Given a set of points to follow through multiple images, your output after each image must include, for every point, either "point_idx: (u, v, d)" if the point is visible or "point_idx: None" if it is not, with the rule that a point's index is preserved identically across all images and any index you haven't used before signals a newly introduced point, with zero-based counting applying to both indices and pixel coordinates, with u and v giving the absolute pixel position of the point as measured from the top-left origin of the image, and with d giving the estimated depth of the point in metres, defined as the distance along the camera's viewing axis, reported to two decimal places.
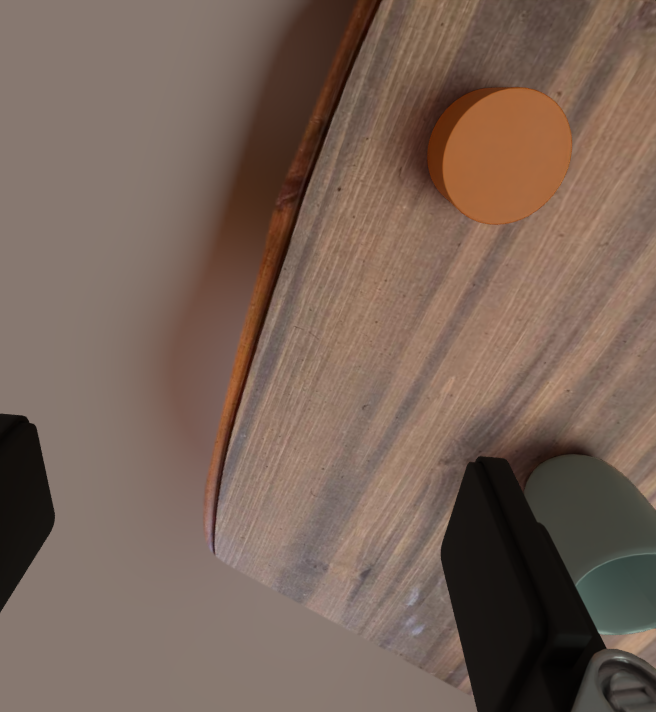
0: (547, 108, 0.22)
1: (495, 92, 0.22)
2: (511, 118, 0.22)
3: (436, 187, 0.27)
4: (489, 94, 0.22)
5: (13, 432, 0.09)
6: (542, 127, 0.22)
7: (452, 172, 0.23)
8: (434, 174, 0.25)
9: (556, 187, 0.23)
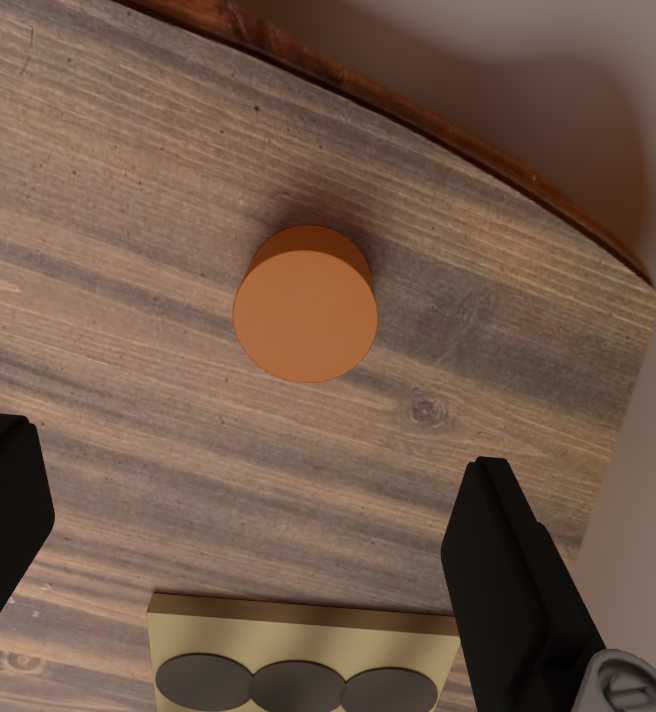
0: (357, 352, 0.21)
1: (374, 299, 0.20)
2: (348, 319, 0.20)
3: (267, 240, 0.22)
4: (372, 293, 0.20)
5: (13, 432, 0.09)
6: (339, 351, 0.21)
7: (290, 263, 0.19)
8: (283, 238, 0.21)
9: (279, 375, 0.21)
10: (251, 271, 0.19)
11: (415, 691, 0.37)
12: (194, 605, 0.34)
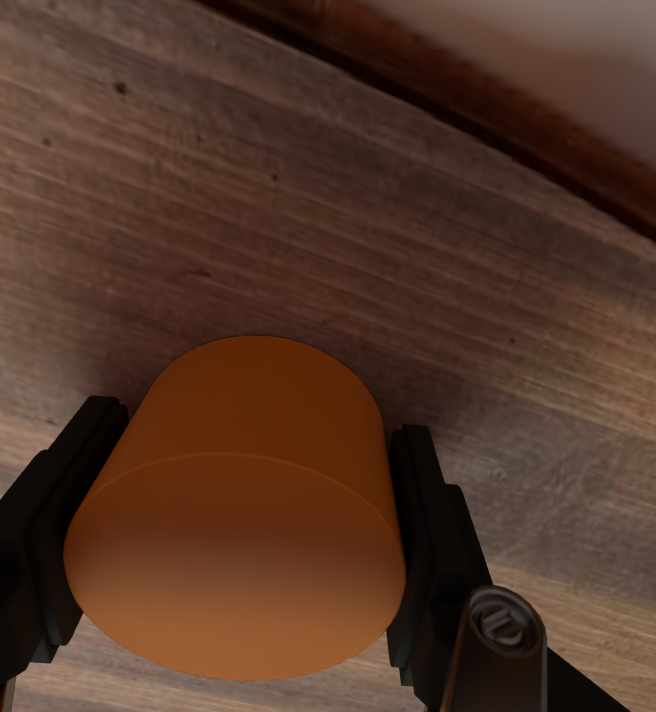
0: (357, 635, 0.09)
1: (398, 547, 0.08)
2: (336, 583, 0.09)
3: (171, 366, 0.11)
4: (395, 536, 0.08)
5: (111, 412, 0.10)
6: (316, 634, 0.09)
7: (188, 480, 0.07)
8: (193, 381, 0.09)
9: (187, 671, 0.10)
10: (93, 495, 0.08)
11: None
12: None
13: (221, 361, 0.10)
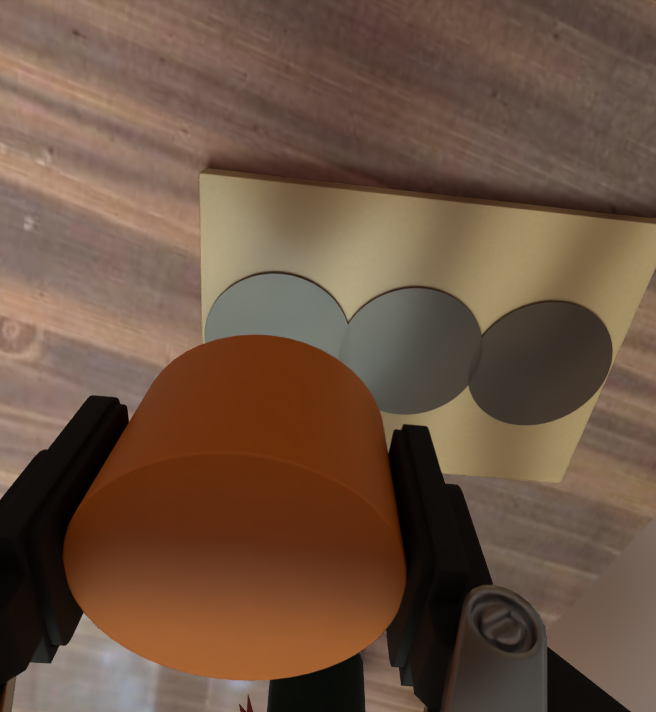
0: (357, 635, 0.09)
1: (399, 546, 0.08)
2: (336, 582, 0.09)
3: (170, 365, 0.11)
4: (395, 535, 0.08)
5: (111, 412, 0.10)
6: (317, 634, 0.09)
7: (188, 479, 0.07)
8: (193, 380, 0.09)
9: (187, 670, 0.10)
10: (93, 494, 0.08)
11: (581, 352, 0.26)
12: (270, 177, 0.23)
13: (221, 360, 0.10)
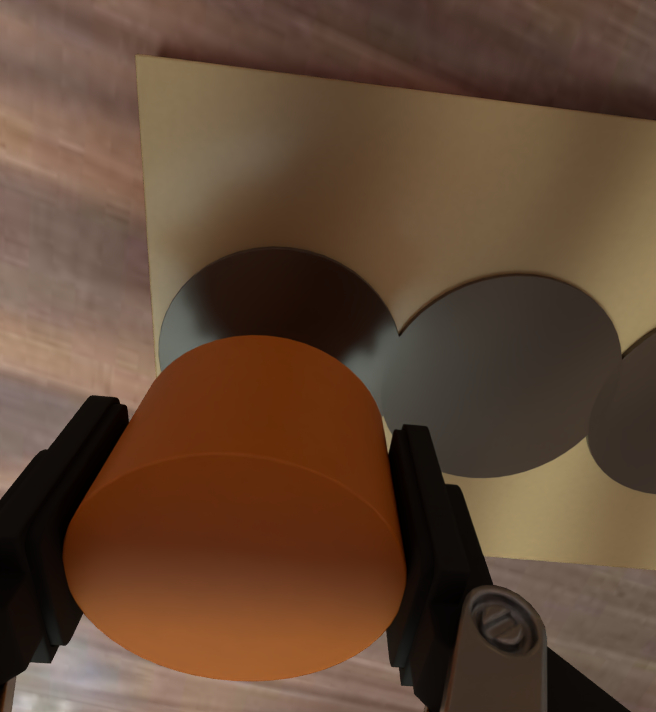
0: (357, 635, 0.09)
1: (399, 547, 0.08)
2: (336, 583, 0.09)
3: (170, 366, 0.11)
4: (395, 535, 0.08)
5: (111, 412, 0.10)
6: (316, 634, 0.09)
7: (188, 480, 0.07)
8: (193, 380, 0.09)
9: (187, 671, 0.10)
10: (93, 495, 0.08)
11: None
12: None
13: (221, 361, 0.10)
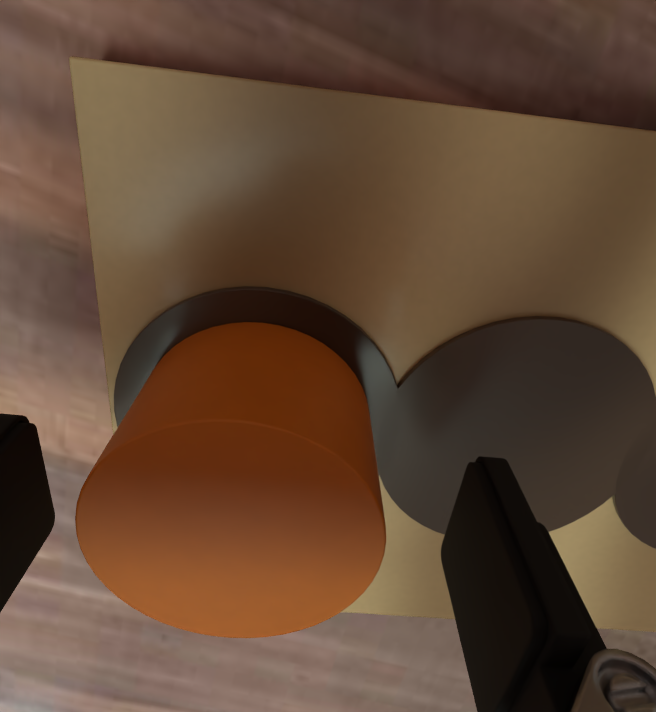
0: (342, 592, 0.10)
1: (378, 507, 0.09)
2: (322, 541, 0.10)
3: (171, 351, 0.12)
4: (374, 496, 0.09)
5: (13, 432, 0.09)
6: (305, 591, 0.10)
7: (189, 445, 0.08)
8: (192, 361, 0.10)
9: (188, 628, 0.11)
10: (104, 459, 0.09)
11: None
12: None
13: (218, 344, 0.11)
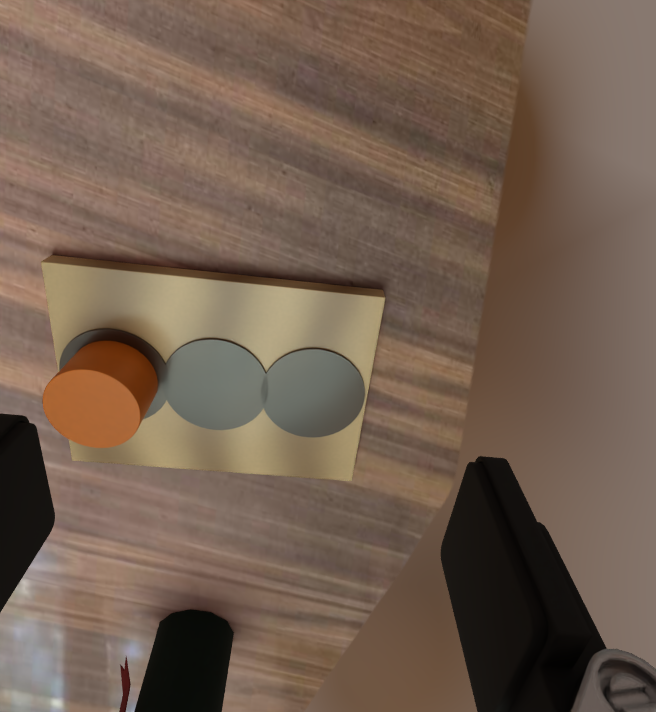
0: (130, 428, 0.32)
1: (134, 397, 0.31)
2: (119, 409, 0.31)
3: None
4: (132, 393, 0.31)
5: (13, 432, 0.09)
6: (118, 428, 0.32)
7: (74, 377, 0.30)
8: (81, 354, 0.32)
9: (81, 443, 0.32)
10: (50, 381, 0.30)
11: (340, 384, 0.35)
12: (96, 263, 0.32)
13: (91, 348, 0.32)
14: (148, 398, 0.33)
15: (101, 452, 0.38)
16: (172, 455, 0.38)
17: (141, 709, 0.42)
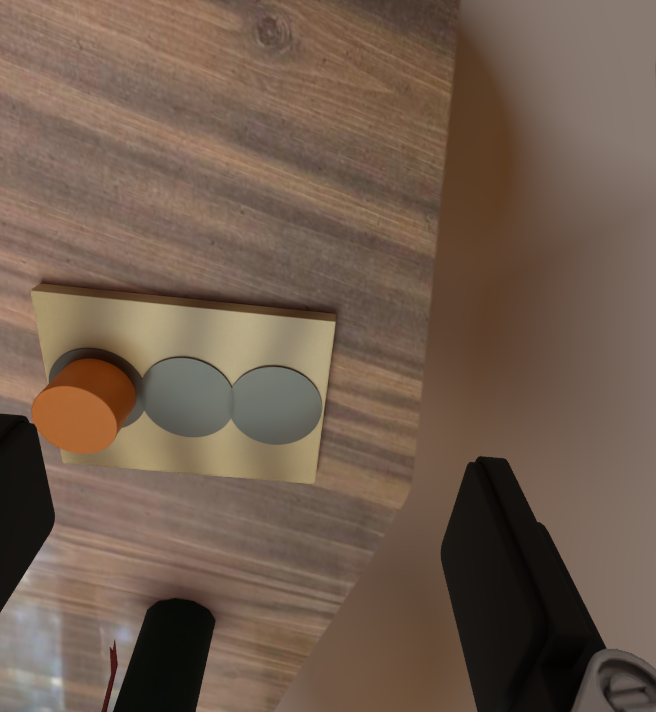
0: (109, 437, 0.36)
1: (110, 410, 0.35)
2: (98, 420, 0.35)
3: None
4: (109, 407, 0.35)
5: (13, 432, 0.09)
6: (98, 436, 0.36)
7: (58, 392, 0.34)
8: (66, 371, 0.36)
9: (66, 449, 0.36)
10: (37, 396, 0.34)
11: (299, 397, 0.39)
12: (79, 290, 0.36)
13: (75, 366, 0.36)
14: (125, 410, 0.37)
15: (88, 456, 0.42)
16: (151, 459, 0.42)
17: (126, 686, 0.47)
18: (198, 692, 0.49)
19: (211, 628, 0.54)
